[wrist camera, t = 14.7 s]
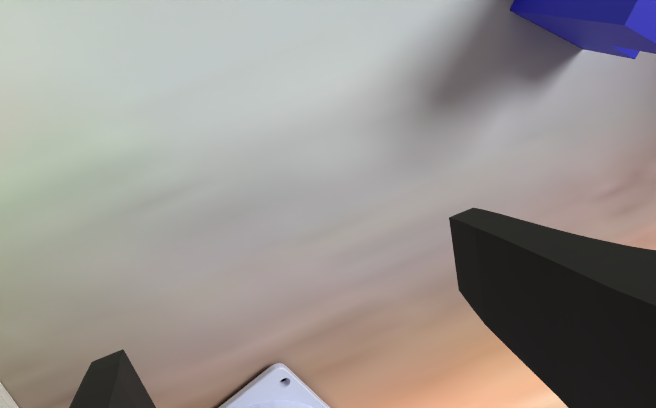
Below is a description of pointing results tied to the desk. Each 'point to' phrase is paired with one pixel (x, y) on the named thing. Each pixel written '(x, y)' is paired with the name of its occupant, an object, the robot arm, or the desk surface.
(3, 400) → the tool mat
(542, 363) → the robot arm
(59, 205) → the desk surface
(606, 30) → the cable clip
